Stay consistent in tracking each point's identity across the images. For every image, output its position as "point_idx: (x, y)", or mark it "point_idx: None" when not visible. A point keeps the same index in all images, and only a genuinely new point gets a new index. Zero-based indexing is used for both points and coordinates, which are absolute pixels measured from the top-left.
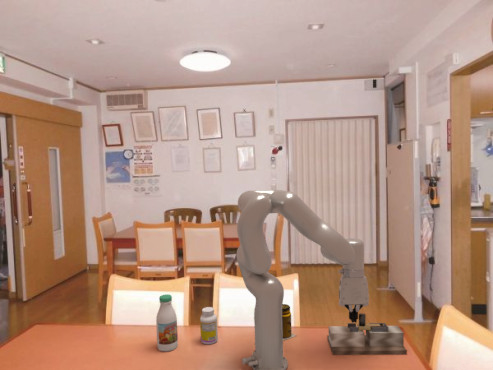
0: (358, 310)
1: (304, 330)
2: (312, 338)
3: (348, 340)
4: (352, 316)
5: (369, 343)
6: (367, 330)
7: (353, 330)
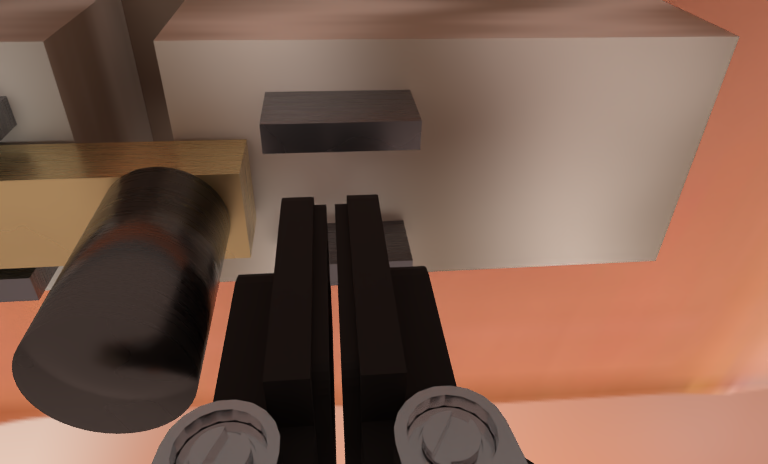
0: (184, 454)
1: (679, 345)
2: (680, 228)
3: (429, 5)
4: (389, 278)
5: (118, 28)
6: None
7: (351, 99)
